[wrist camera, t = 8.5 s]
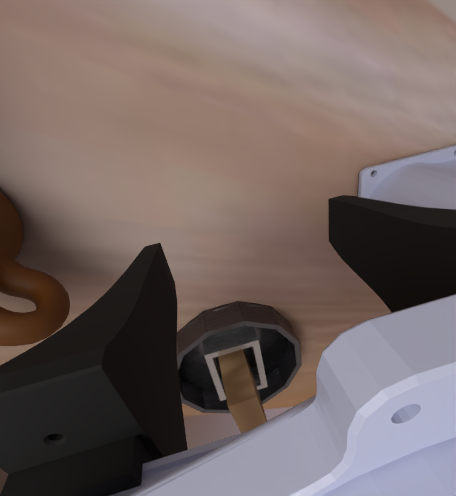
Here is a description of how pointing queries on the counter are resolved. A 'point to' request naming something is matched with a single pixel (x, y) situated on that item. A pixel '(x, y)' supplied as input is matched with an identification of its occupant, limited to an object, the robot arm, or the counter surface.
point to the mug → (26, 288)
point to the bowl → (230, 340)
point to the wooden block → (241, 391)
